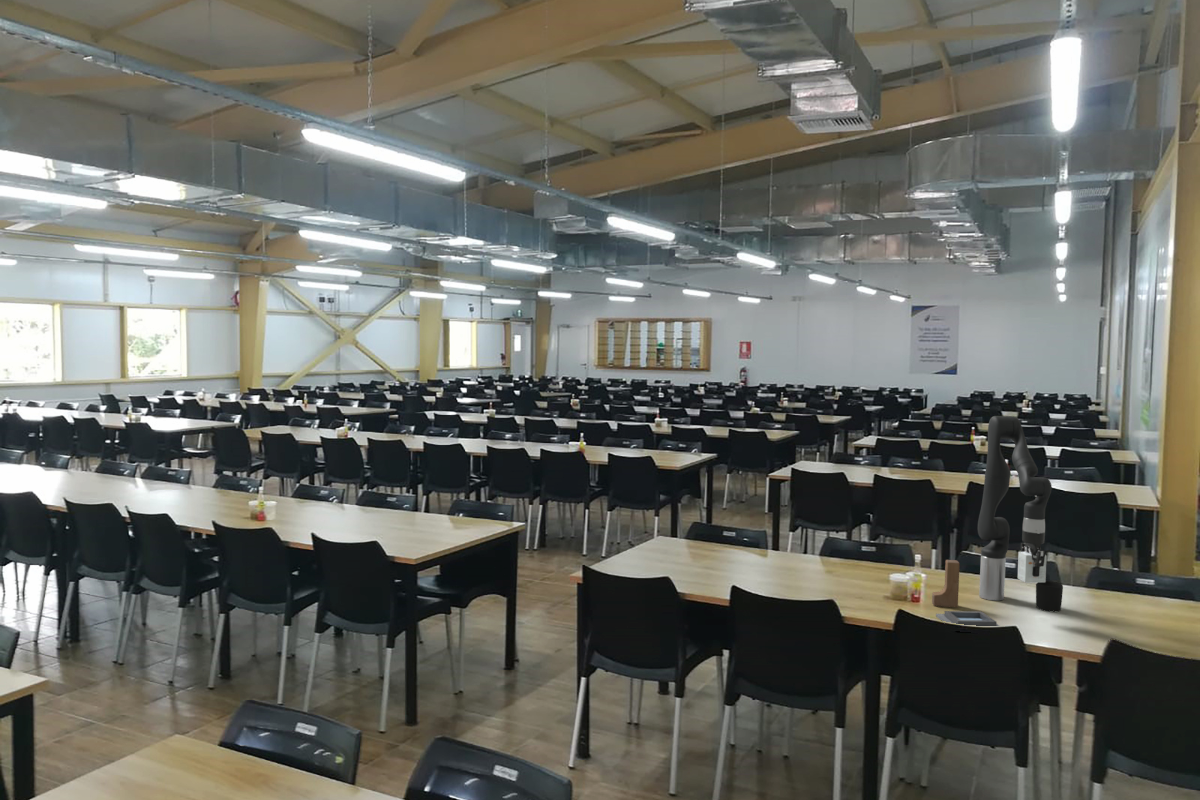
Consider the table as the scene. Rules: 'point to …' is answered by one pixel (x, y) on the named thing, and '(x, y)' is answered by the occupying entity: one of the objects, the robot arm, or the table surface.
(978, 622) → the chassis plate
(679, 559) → the table surface
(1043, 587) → the pen holder
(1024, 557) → the small box
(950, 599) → the wooden block
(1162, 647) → the table surface
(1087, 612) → the table surface
